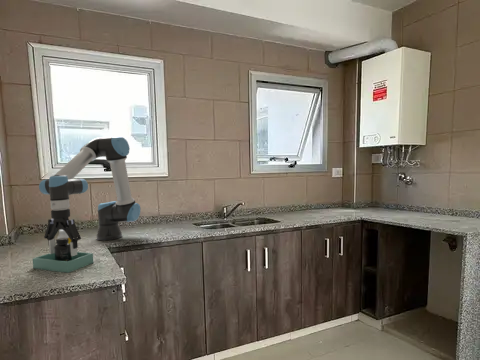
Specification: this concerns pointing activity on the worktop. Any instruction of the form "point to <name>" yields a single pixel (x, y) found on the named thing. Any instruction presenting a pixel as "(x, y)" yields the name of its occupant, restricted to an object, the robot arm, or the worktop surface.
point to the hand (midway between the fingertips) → (63, 254)
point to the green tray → (62, 262)
